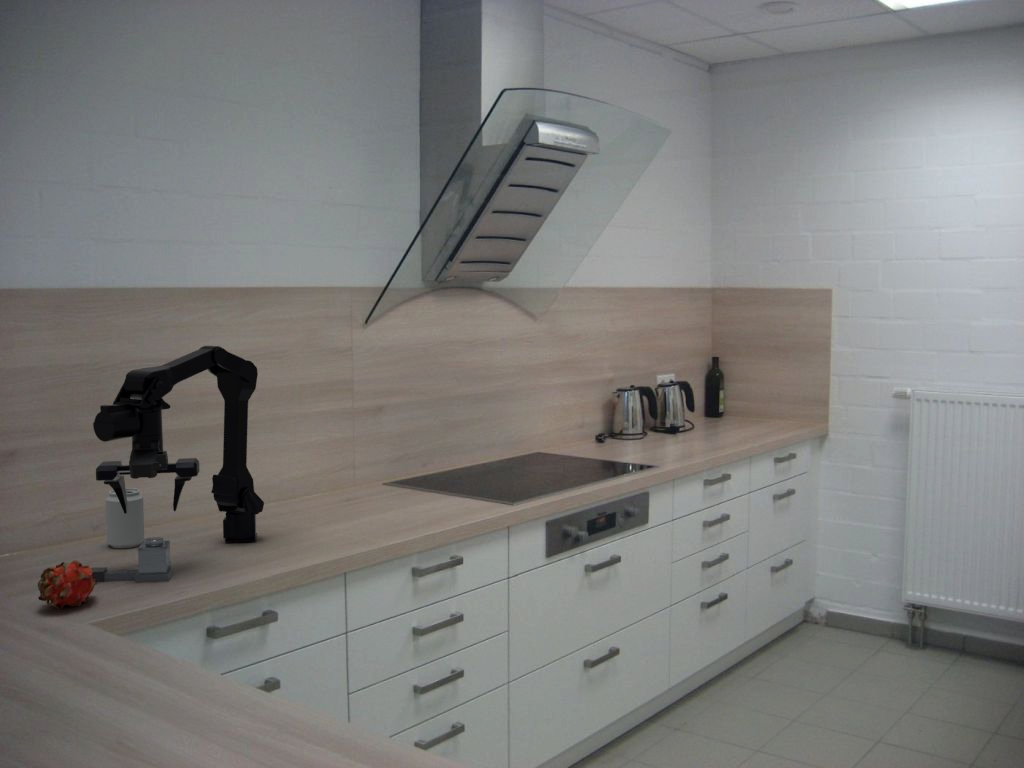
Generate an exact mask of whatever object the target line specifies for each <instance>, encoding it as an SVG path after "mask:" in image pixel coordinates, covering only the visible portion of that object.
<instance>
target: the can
mask: <svg viewBox="0 0 1024 768" xmlns="http://www.w3.org/2000/svg"><path fill="white" fill-rule="evenodd" d="M125 488H126V496H127V514H125V513H124V511H123V509H122V506H121V504H120V502H119V499H118V497H117V495H116V493H115V491H114V490H113V489H112V490H111V489H110V490H109V491H108V494H109V495H108V496H107V497H106V499H105V513H106V514H105V515H106V516H105V517H106V544H108V545H109V546H110V547H111V548H114V549H130V548H135V547H139V546H140V545H141V543H142V542H143V541H145V514H144V513H145V512H144V510H145V509H144V507H145V506H144V496H143V495H142V494H141V493H140V491H141V490H140V489H139V488H135V487H128V488H127V487H125Z"/></svg>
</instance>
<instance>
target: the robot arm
mask: <svg viewBox="0 0 1024 768" xmlns="http://www.w3.org/2000/svg"><path fill="white" fill-rule="evenodd" d="M205 371H208V372H209V373H210V374H211V375H213V376H215V377H216V381H217V388H218V391H219V392H220V394H221V397H222V398H223V401H224V407H223V408H224V410H223V446H222V447H223V449H222V450H223V451H222V467H221V469H220V471H218V473H217V474H215V473H214V474H213V475H212V477H211V479H212V482H211V483H212V488H211V494H213V500H214V501H215V502H216V505H217V508H218V512H225V517H224V518H223V519H222V533H223V535H222V536H223V539H224V543H227V544H228V543H230V544H231V543H248V542H250V543H251V542H256V541H257V538H258V532H257V515H259V514H260V513H262V512H263V510H264V505H265V502H264V500H262V498H261V497H260V496H259V495H258V494H257V493H256V492H255V485H254V479H253V477H252V474H251V473H250V471H249V469H248V467H247V465H248V464H247V460H248V458H247V457H248V455H247V454H248V426H249V425H248V422H249V421H248V418H249V400H250V399H251V397H252V396H253V394H254V392H255V391H256V388H257V382H258V374H259V373H258V368H257V365H255V364H254V362H253V361H251V360H245V359H244V358H242V357H240V356H239V355H236V354H233V353H231V352H229V351H228V350H227V349H225V348H224V347H221V346H219V345H203V346H201V347H200V348H199V349H197V350H194V351H192V352H190V353H187V354H185V355H183V356H180V357H179V358H175V359H174V360H171V361H169V362H167V363H164V364H161V365H159V366H149V367H141V368H137V369H132V370H130V371H128V372H127V373H126V375H125V379H124V382H123V384H122V385H121V387H120V389H119V390H118V393H117V395H116V397H115V398H114V401H113V403H112V404H102V405H100V407H99V408H100V412H98V413H97V414H96V415H95V417H94V421H93V423H92V426H93V432H94V434H95V436H96V438H97V439H98V440H100V441H102V442H104V443H105V442H110V441H116V440H121V439H123V440H124V439H129V438H131V448H132V449H131V451H130V455H129V461H128V464H125V465H124V464H123V463H122V460H115V461H114V460H113V461H112V460H110V461H109V460H108V461H102V462H101V463H100V464H98V466H97V467H96V468H95V480H96V481H101V482H102V481H103V484H104V485H108V486H110V487H111V489H112V490H114V491H115V493H116V495H117V497H118V499H119V502H120V504H121V506H122V509H123V511H124V513H125V514H127V496H126V488H127V487H126V481H125V476H126V475H130V476H129V477H130V478H131V479H134V480H136V479H139V478H140V479H141V478H147V479H154V478H156V477H158V476H157V475H158V474H173V473H174V474H176V476H175V478H174V488H173V502H172V507H173V508H172V509H173V512H176V511H177V508H178V505H179V502H180V497H181V495H182V491H183V489H184V487H185V485H186V484H185V483H186V482H189V481H191V480H192V478H193V477H194V478H195V477H198V476H199V473H200V470H201V469H200V461H199V460H198V459H197V457H192V458H191V457H190V458H189V457H188V458H178V459H177V461H176V462H173V463H172V462H171V463H169V457H168V452H167V451H166V450H164V434H163V417H162V415H163V414H162V413H163V411H164V410H169V409H170V408H171V405H170V404H169V403H168V402H166V401H165V400H164V399H163V398H164V397H165V396H166V395H168V394H169V393H171V392H172V390H173V388H174V387H175V385H177V384H179V383H181V382H184V381H185V380H187V379H189V378H192V377H193V376H196V375H198V374H201V373H202V372H205ZM162 410H163V411H162Z"/></svg>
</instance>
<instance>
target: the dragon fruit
mask: <svg viewBox="0 0 1024 768" xmlns="http://www.w3.org/2000/svg"><path fill="white" fill-rule="evenodd" d="M91 568H92V567H90V566H89V564H88V565H87V564H86V565H82V562H81V561H78V560H73V561H71V562H70V563H68V562H65V561H63V562H61V563H59V564H57V565H56V566H49V567H48V568H46V569H44V570H43V572H42V573H41V575H40V579H39V581H38V582H37V588H38V591H39V596H38V600H39V601H41V602H46V606H52V607H54V608H56V609H57V610H62V609H63V608H64V607H65V606H66V605H69V606H71V607H75V606H76V607H80V606H81V605H82V603H87V602H88V599H89V598H90V595H91V593H92V592H93V590H94V588H95V586H96V585H98V582H95V578H94V577H93V575H92V573H93V571H92V569H91Z"/></svg>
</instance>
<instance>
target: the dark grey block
mask: <svg viewBox="0 0 1024 768" xmlns="http://www.w3.org/2000/svg"><path fill="white" fill-rule="evenodd" d="M137 551H138V552H137V556H138V569H139V574H151V573H167V571H168V569H169V568H170V566H171V565H172V563H171V540H164V538H163V537H160V536H154V537H147V538H144V541H143V542H142V543H141V544H140V545H139V546H138V548H137Z"/></svg>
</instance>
